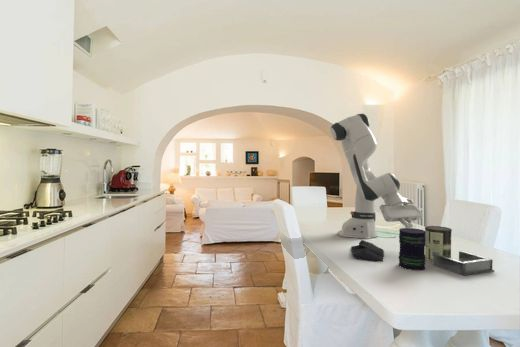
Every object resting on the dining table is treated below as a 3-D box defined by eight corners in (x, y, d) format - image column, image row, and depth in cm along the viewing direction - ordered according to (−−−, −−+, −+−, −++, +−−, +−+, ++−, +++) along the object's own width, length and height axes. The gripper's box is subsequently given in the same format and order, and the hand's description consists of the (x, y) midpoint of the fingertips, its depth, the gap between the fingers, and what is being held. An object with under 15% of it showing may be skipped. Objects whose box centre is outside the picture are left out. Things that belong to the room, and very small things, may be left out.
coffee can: (445, 257, 140) (446, 226, 140) (455, 264, 130) (455, 230, 130) (421, 255, 142) (421, 225, 142) (428, 262, 132) (429, 229, 132)
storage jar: (424, 272, 120) (424, 234, 119) (396, 267, 125) (397, 231, 125) (426, 265, 128) (426, 229, 128) (400, 261, 133) (400, 227, 133)
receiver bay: (433, 264, 129) (433, 254, 129) (461, 261, 134) (461, 250, 134) (464, 275, 116) (465, 264, 116) (494, 271, 121) (494, 260, 121)
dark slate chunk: (347, 259, 137) (347, 249, 137) (351, 247, 158) (352, 238, 157) (384, 263, 132) (384, 252, 131) (384, 250, 152) (384, 241, 152)
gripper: (381, 201, 152) (394, 224, 143) (415, 200, 158) (430, 222, 148) (375, 209, 157) (388, 232, 148) (409, 207, 162) (423, 229, 153)
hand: (409, 227), depth 148 cm, fingers closed
